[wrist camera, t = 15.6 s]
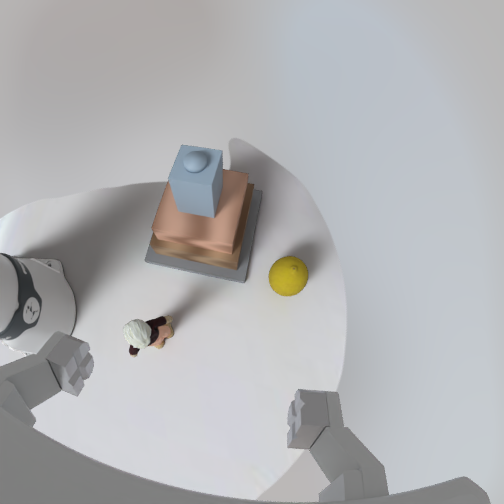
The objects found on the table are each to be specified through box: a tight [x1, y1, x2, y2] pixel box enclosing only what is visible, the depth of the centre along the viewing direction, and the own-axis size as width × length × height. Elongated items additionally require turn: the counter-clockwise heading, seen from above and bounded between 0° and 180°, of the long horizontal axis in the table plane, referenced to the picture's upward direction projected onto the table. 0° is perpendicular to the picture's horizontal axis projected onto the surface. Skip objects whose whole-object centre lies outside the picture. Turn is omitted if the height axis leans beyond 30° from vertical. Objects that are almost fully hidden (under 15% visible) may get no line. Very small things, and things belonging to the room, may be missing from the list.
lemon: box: [269, 256, 308, 296], centre depth 41 cm, size 6×6×8 cm
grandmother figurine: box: [123, 316, 174, 357], centre depth 35 cm, size 8×4×13 cm, turn 148°
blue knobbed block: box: [168, 145, 223, 218], centre depth 35 cm, size 5×5×9 cm
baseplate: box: [145, 189, 262, 283], centre depth 47 cm, size 16×16×1 cm
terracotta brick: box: [150, 169, 254, 270], centre depth 43 cm, size 13×13×8 cm
